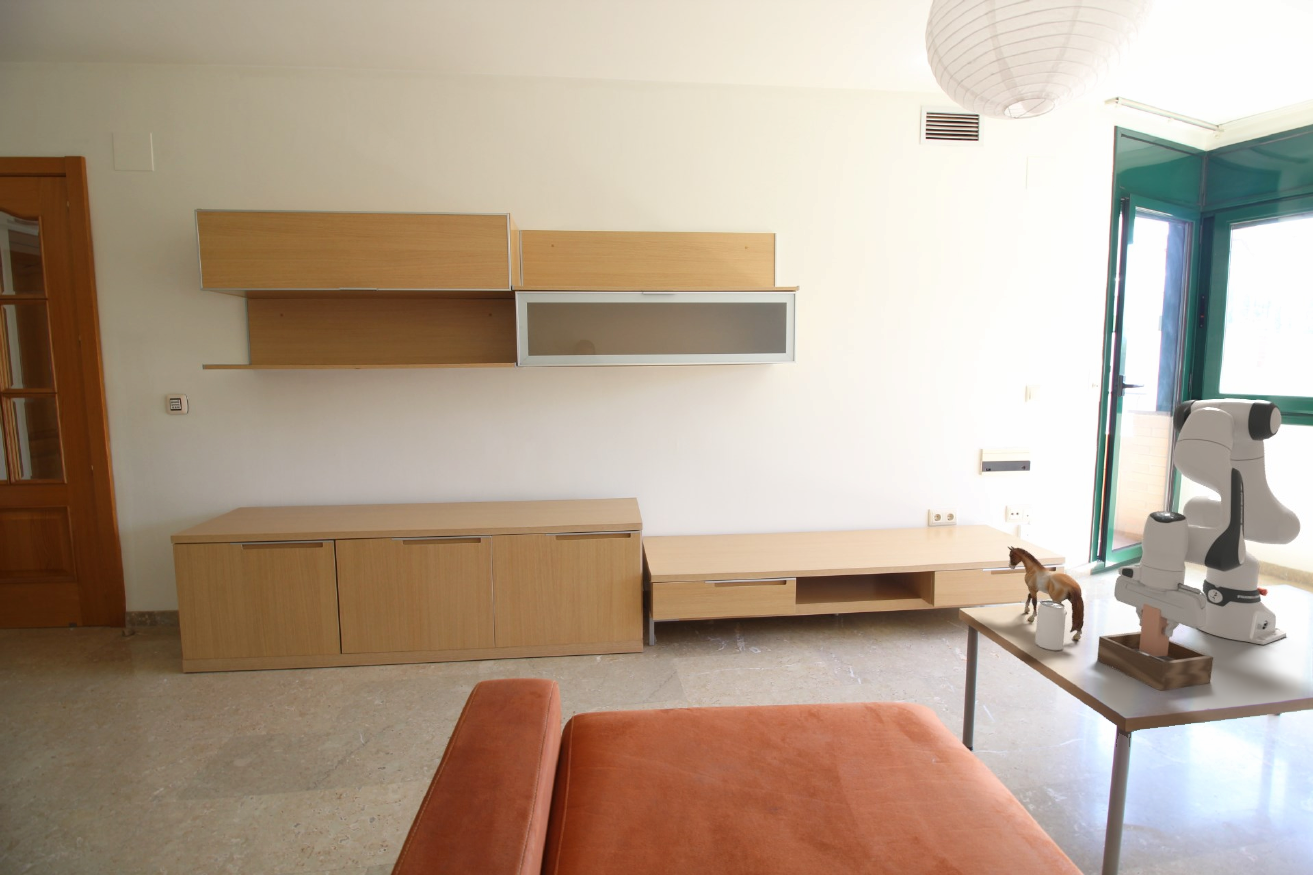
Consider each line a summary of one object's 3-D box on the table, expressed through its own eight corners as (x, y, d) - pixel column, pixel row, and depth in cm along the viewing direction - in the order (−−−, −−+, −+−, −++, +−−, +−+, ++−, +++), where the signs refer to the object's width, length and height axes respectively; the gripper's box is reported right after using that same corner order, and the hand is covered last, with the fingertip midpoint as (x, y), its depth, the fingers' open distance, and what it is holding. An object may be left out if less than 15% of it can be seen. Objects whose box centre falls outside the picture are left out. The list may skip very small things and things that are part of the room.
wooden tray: (1144, 654, 168) (1146, 630, 167) (1210, 682, 153) (1213, 657, 152) (1097, 660, 164) (1099, 636, 163) (1160, 690, 149) (1163, 664, 148)
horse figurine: (1001, 607, 200) (1006, 544, 198) (1024, 607, 201) (1029, 544, 199) (1073, 650, 170) (1080, 576, 167) (1100, 650, 170) (1107, 576, 168)
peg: (1151, 648, 160) (1155, 602, 159) (1167, 655, 156) (1172, 608, 155) (1138, 649, 159) (1143, 604, 158) (1155, 656, 155) (1160, 610, 154)
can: (1067, 652, 168) (1070, 609, 167) (1040, 649, 170) (1044, 607, 168) (1057, 642, 175) (1060, 600, 174) (1031, 640, 176) (1034, 598, 175)
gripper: (1217, 590, 147) (1210, 647, 148) (1130, 564, 166) (1126, 614, 168) (1197, 592, 145) (1190, 650, 146) (1112, 565, 165) (1107, 616, 166)
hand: (1155, 631), depth 157 cm, fingers closed on peg, 4 cm apart
